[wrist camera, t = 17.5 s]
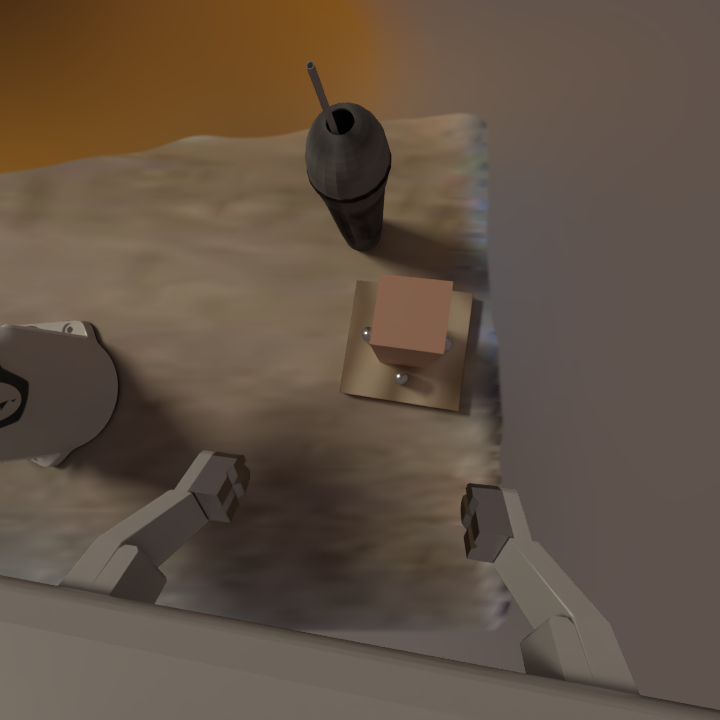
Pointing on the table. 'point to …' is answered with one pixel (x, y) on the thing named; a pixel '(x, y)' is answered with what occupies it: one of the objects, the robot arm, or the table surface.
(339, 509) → the table surface
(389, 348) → the terracotta post
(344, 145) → the beverage cup
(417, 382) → the pin plate
